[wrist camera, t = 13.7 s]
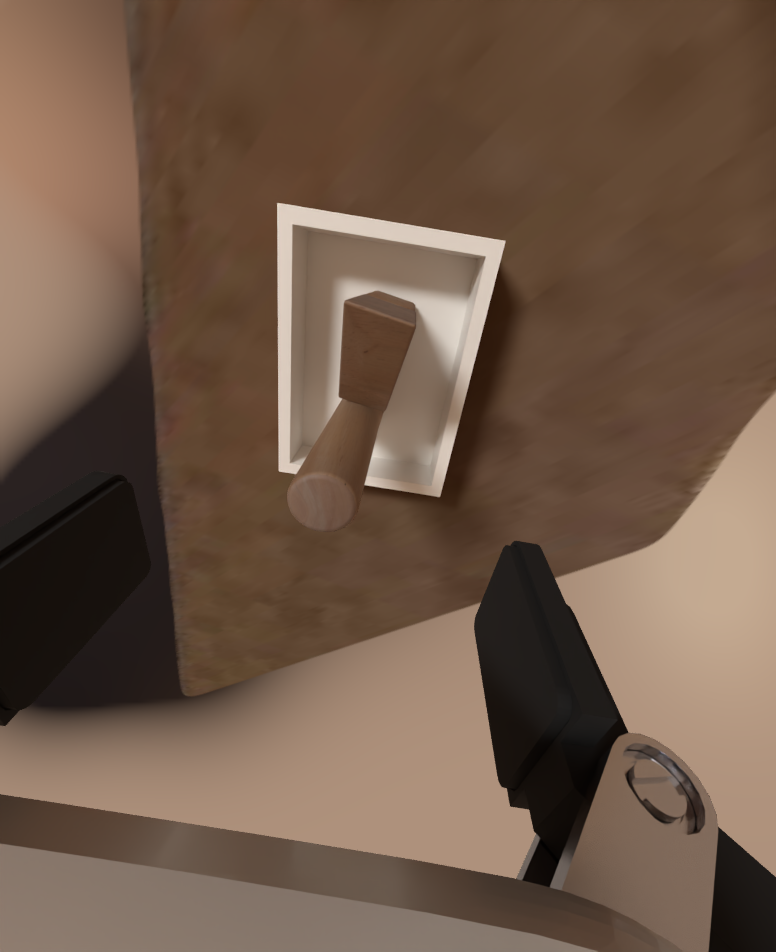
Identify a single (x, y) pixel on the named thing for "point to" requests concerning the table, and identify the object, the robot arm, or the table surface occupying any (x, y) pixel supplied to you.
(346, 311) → the brown rod with wedge
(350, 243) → the tray
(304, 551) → the table surface
